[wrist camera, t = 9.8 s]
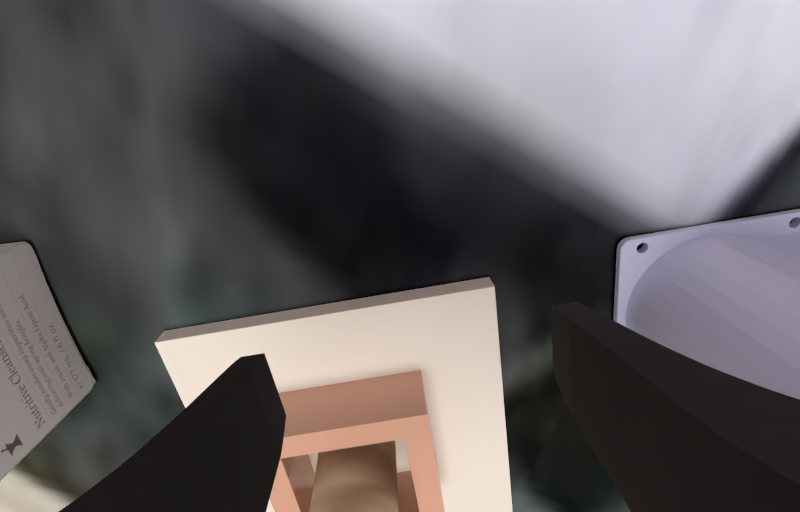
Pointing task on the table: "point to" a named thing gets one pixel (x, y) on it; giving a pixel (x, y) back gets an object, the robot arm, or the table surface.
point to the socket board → (375, 389)
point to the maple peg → (356, 480)
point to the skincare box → (33, 358)
